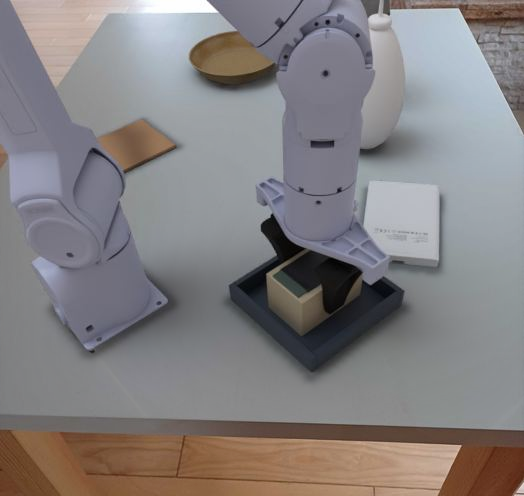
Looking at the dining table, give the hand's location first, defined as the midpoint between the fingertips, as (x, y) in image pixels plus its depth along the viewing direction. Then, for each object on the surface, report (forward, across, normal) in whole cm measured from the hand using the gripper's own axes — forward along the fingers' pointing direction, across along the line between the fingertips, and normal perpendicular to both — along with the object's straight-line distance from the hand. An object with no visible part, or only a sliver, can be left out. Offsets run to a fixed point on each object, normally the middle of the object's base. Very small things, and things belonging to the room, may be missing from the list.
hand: (315, 292), depth 51 cm
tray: (+2, 0, 0) cm, 2 cm away
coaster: (+2, +38, -1) cm, 38 cm away
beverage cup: (+2, +25, -31) cm, 40 cm away
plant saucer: (+2, +45, -25) cm, 52 cm away
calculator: (+1, 0, 0) cm, 1 cm away
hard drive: (+2, +2, -15) cm, 15 cm away
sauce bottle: (+2, +16, -24) cm, 29 cm away
